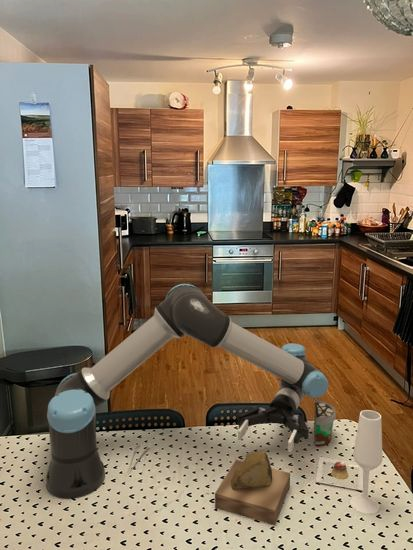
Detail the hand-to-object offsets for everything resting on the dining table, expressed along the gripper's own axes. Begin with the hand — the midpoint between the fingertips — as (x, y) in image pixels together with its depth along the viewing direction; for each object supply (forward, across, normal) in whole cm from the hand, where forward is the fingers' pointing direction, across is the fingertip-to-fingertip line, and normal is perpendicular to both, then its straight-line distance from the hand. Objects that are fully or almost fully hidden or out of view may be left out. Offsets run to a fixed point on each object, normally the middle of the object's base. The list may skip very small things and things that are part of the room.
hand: (263, 441), depth 120 cm
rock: (+7, +1, -8) cm, 11 cm away
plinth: (+7, 0, -12) cm, 14 cm away
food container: (-27, -11, -12) cm, 32 cm away
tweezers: (+7, +36, -12) cm, 39 cm away
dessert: (-11, -18, -13) cm, 25 cm away
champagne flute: (-1, -26, -12) cm, 28 cm away
